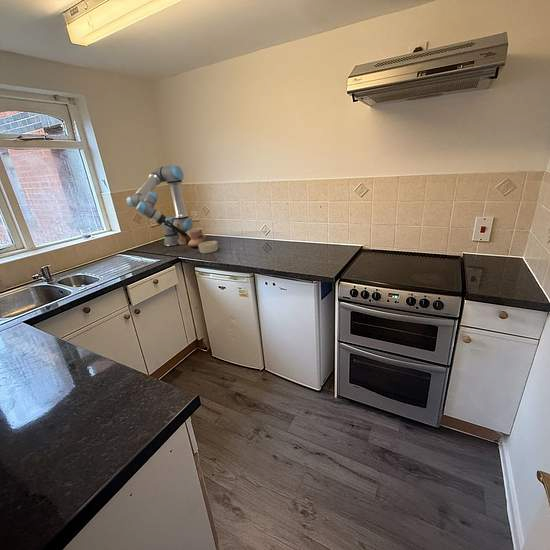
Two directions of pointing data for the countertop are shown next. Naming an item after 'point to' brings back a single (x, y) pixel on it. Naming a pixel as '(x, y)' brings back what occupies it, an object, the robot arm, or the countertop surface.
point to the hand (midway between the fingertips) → (186, 235)
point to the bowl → (208, 247)
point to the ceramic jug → (196, 237)
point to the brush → (181, 240)
